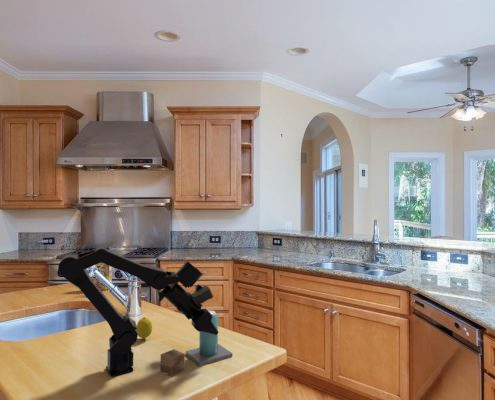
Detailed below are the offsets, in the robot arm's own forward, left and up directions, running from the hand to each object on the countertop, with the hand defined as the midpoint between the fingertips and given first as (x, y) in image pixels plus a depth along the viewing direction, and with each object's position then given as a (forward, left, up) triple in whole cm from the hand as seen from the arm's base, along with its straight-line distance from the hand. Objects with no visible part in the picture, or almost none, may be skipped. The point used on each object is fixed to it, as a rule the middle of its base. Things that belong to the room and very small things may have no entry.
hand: (213, 328), depth 118 cm
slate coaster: (-1, 0, -9) cm, 9 cm away
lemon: (-14, +25, -9) cm, 30 cm away
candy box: (-9, +109, -9) cm, 110 cm away
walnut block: (-15, -3, -9) cm, 18 cm away
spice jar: (-1, 0, -7) cm, 8 cm away
